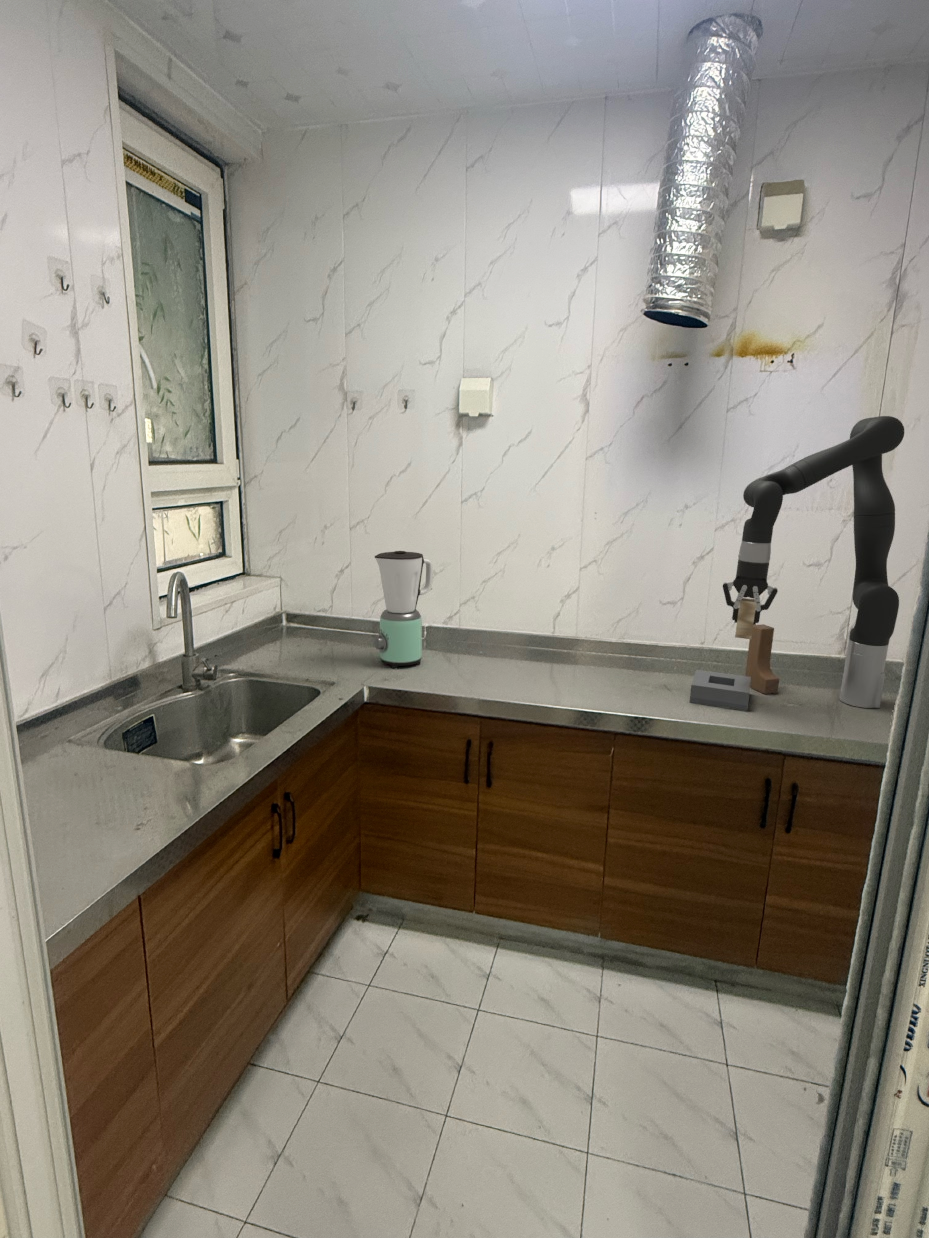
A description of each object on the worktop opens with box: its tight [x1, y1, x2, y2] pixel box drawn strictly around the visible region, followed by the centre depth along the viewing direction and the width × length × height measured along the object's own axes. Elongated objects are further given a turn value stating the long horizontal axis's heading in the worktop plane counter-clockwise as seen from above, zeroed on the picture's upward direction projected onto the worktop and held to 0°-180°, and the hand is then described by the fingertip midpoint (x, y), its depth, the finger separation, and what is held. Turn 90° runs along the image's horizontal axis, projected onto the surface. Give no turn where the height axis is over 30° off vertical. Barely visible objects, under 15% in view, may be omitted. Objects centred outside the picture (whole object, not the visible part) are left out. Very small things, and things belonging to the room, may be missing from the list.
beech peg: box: [734, 597, 756, 640], centre depth 180 cm, size 4×4×10 cm
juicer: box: [373, 550, 433, 669], centre depth 210 cm, size 19×13×35 cm
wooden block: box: [744, 623, 780, 695], centre depth 193 cm, size 9×4×18 cm, turn 16°
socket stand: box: [689, 669, 751, 712], centre depth 187 cm, size 14×14×5 cm
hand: (744, 622), depth 181 cm, fingers closed on beech peg, 4 cm apart
